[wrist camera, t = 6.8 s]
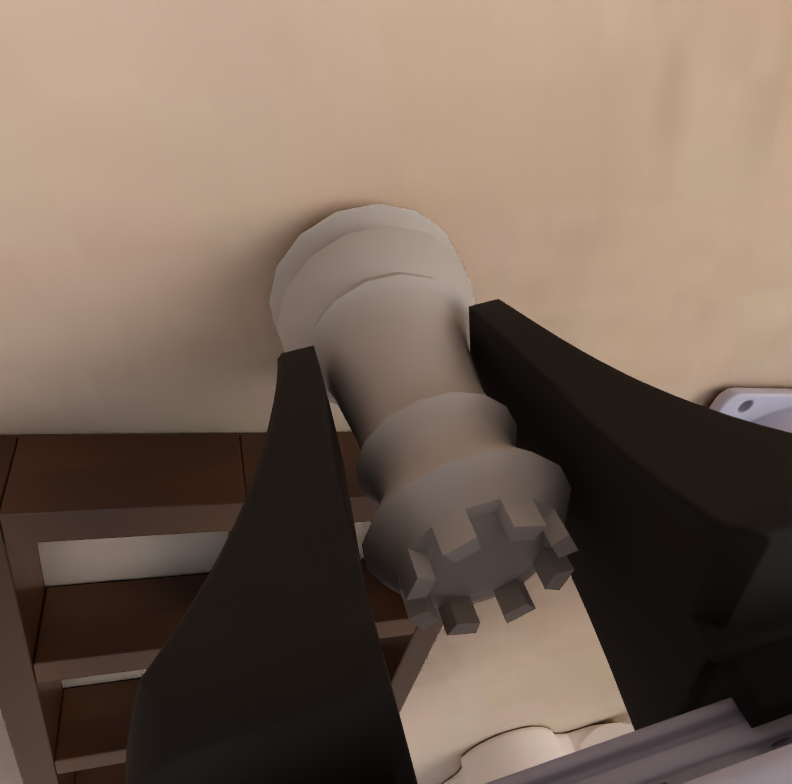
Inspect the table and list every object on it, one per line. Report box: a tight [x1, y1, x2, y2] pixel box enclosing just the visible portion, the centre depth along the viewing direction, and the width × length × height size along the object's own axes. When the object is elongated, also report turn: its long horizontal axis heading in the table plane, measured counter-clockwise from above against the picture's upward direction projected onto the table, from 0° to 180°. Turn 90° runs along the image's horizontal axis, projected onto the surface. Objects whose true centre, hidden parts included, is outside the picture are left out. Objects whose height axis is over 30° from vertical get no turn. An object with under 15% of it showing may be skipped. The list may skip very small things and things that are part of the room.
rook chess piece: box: [269, 203, 578, 635], centre depth 12 cm, size 4×4×8 cm
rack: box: [0, 432, 443, 784], centre depth 21 cm, size 13×19×2 cm
